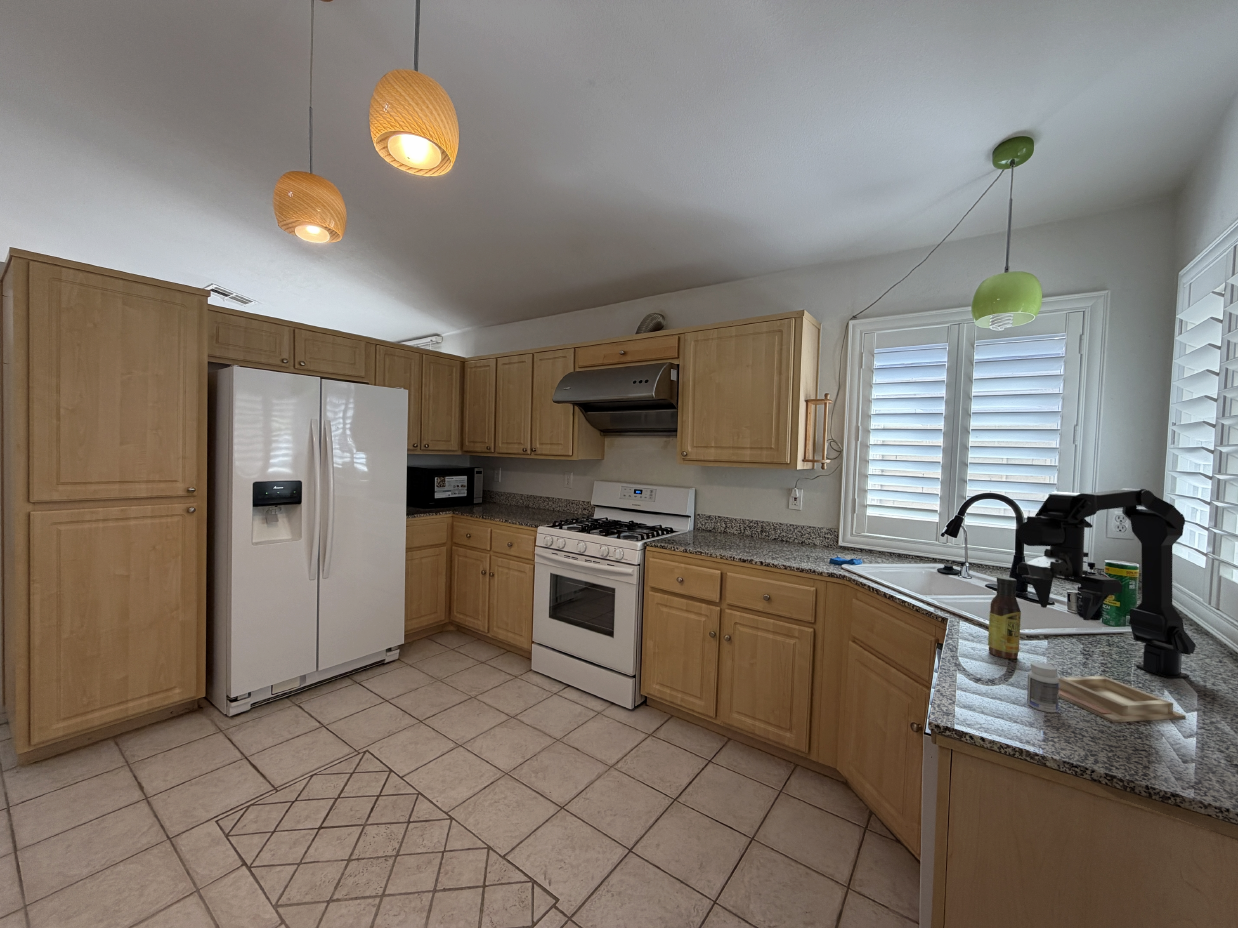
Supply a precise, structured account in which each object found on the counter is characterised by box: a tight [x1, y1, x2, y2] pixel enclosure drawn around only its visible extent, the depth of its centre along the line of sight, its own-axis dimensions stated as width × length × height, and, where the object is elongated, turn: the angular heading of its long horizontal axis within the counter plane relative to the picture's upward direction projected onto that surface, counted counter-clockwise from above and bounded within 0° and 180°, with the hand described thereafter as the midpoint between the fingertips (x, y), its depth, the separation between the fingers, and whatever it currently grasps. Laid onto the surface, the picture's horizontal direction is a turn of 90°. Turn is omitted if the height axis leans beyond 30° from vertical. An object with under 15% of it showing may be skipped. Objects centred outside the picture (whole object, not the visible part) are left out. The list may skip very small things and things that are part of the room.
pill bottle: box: [1026, 661, 1060, 713], centre depth 97 cm, size 5×5×8 cm
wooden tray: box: [1057, 675, 1186, 723], centre depth 100 cm, size 17×14×2 cm
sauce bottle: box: [987, 576, 1022, 660], centre depth 123 cm, size 6×6×20 cm
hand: (1064, 613), depth 111 cm, fingers open, 9 cm apart
